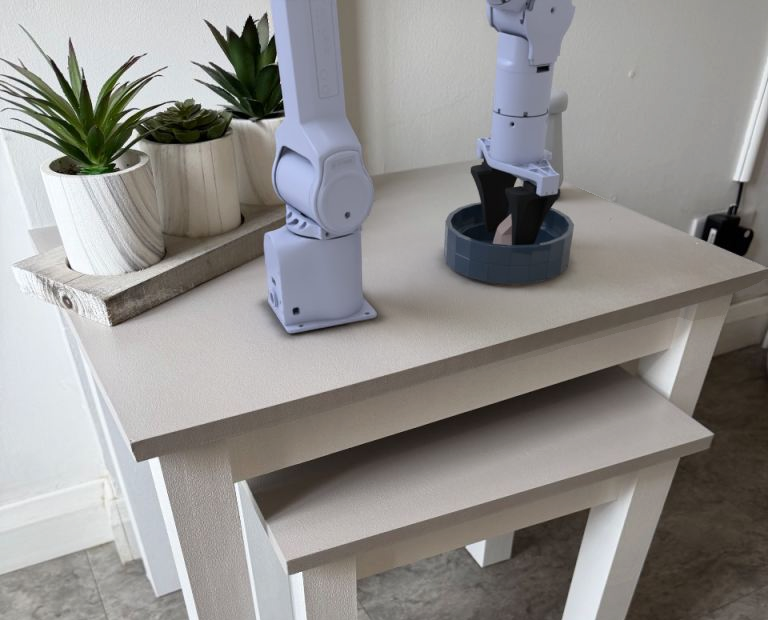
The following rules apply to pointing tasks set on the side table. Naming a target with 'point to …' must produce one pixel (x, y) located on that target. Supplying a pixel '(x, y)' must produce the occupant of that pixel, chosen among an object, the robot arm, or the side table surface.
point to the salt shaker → (556, 131)
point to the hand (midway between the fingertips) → (508, 240)
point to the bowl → (506, 248)
